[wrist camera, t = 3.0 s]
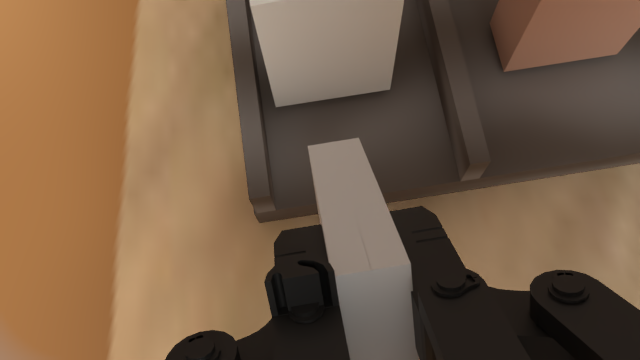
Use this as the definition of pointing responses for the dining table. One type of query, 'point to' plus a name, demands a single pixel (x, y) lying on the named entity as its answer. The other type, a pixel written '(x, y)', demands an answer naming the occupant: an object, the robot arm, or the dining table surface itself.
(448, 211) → the dining table surface
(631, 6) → the key terracotta
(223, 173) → the dining table surface
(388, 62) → the key offwhite
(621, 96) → the grey compartment tray
